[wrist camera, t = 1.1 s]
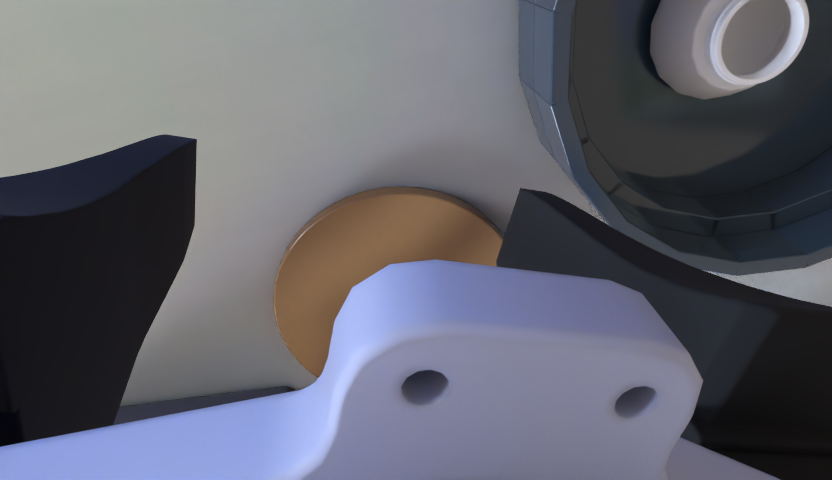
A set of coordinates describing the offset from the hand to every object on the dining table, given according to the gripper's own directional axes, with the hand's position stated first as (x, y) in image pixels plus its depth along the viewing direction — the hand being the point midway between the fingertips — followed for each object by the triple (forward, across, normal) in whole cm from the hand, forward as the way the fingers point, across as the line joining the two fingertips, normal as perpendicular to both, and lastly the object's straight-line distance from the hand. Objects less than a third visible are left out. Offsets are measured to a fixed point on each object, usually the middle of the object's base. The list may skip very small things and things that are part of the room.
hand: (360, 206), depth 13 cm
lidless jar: (+9, -13, -5) cm, 16 cm away
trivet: (+9, -4, +9) cm, 14 cm away
